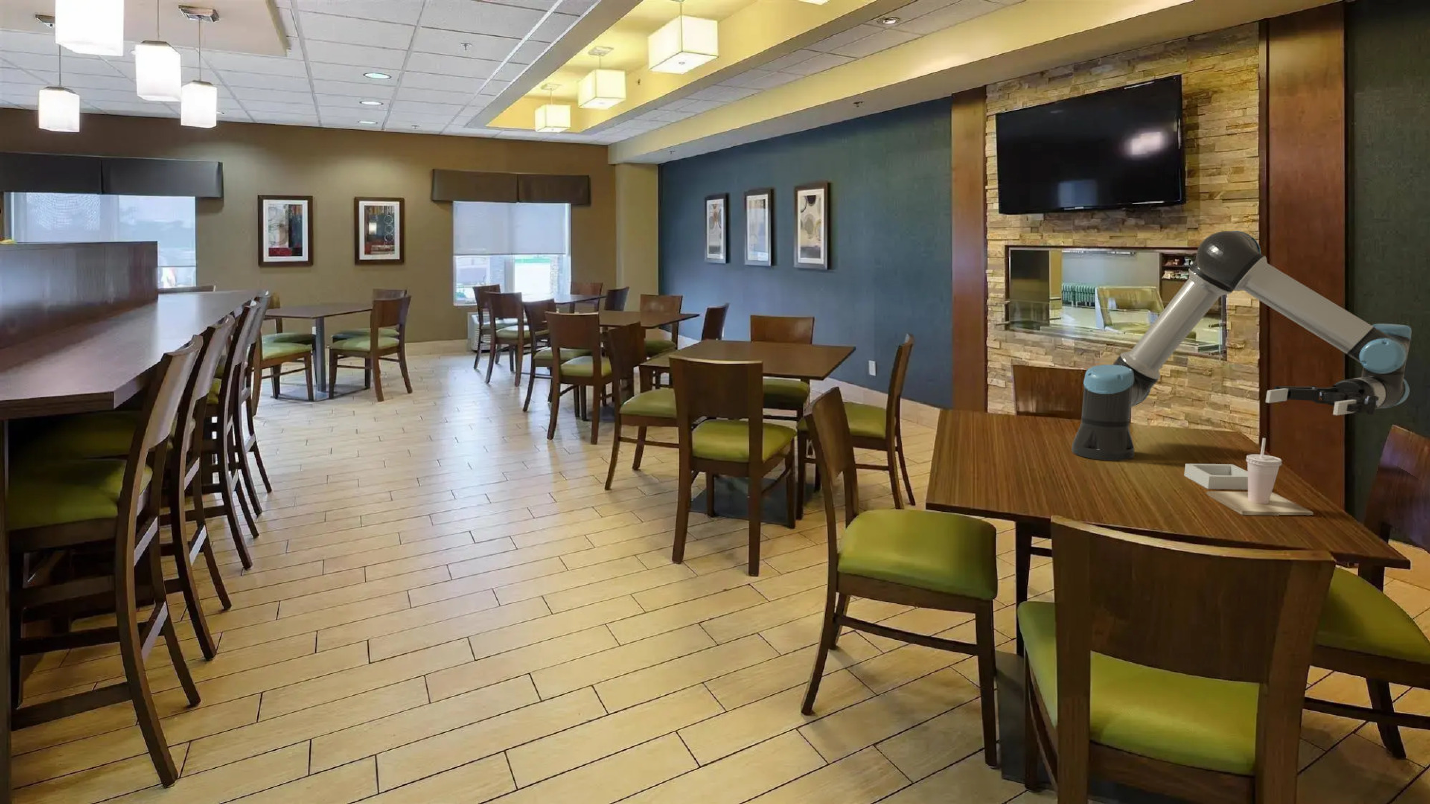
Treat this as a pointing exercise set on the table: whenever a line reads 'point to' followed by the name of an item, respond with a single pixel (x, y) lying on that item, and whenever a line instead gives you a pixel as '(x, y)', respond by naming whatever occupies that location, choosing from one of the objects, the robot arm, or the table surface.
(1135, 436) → the table surface
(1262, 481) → the smoothie
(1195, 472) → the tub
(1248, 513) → the board
